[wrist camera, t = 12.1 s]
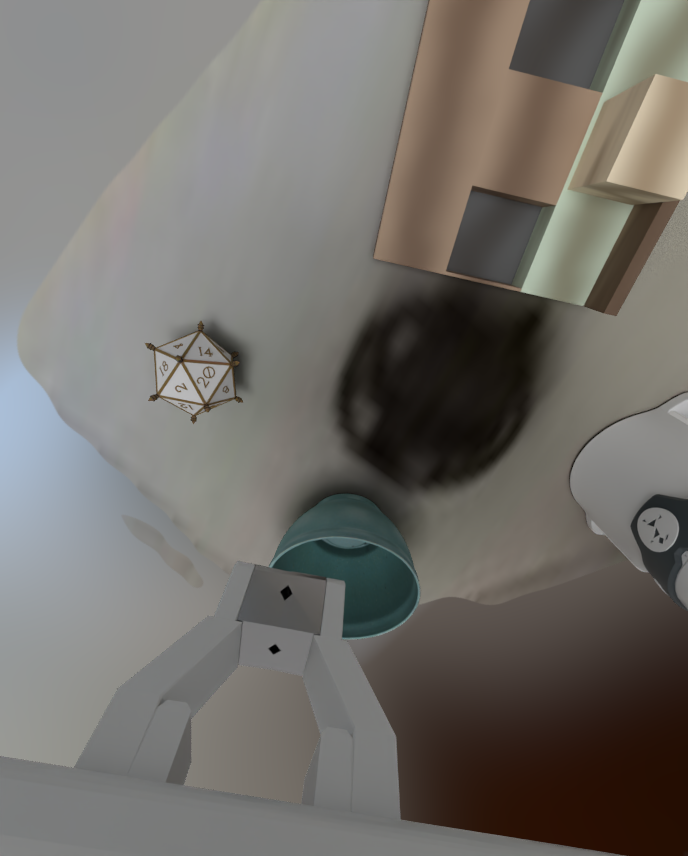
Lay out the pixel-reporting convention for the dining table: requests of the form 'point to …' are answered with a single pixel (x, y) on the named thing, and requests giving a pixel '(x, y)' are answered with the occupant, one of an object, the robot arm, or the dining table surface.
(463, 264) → the box
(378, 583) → the flower pot
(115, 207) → the dining table surface
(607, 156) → the maple block
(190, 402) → the game die
